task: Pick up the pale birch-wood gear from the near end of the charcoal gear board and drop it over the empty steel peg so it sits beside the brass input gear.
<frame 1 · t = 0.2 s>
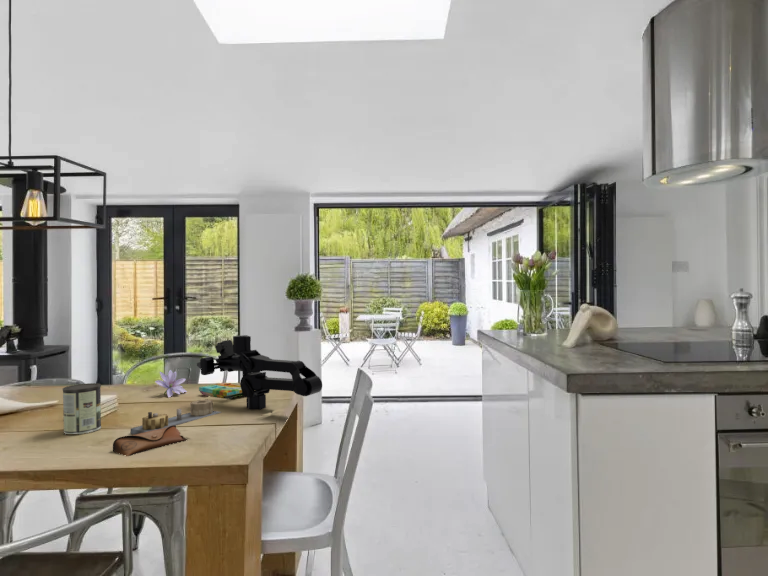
hand: (207, 362, 180), 17 cm above the table, tool horizontal, fingers open, 9 cm apart
coffee can: (82, 431, 148), on the table
water lily: (172, 395, 199), on the table
sunglasses case: (152, 447, 132), on the table
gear: (201, 413, 161), point 1 cm above the table, touching gear board
puzzle game: (224, 397, 196), on the table
gear board: (179, 424, 153), on the table
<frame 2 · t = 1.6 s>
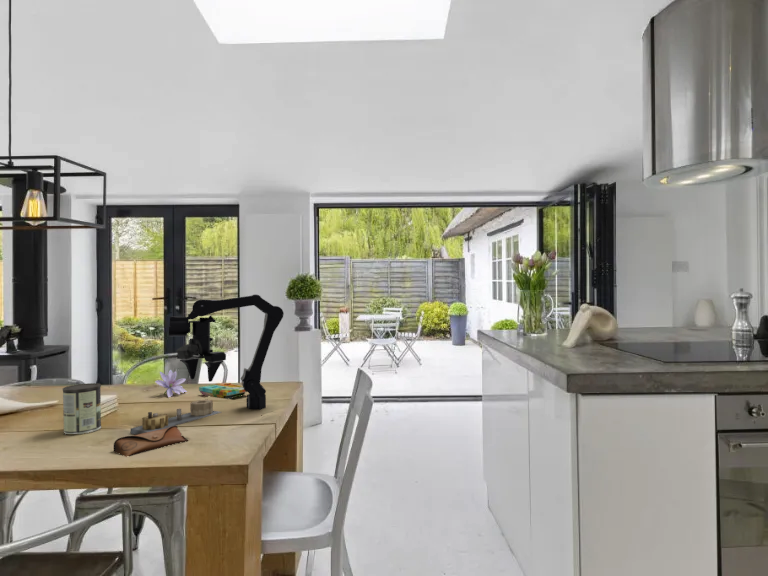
hand: (201, 380, 161), 13 cm above the table, tool pointing down, fingers open, 9 cm apart
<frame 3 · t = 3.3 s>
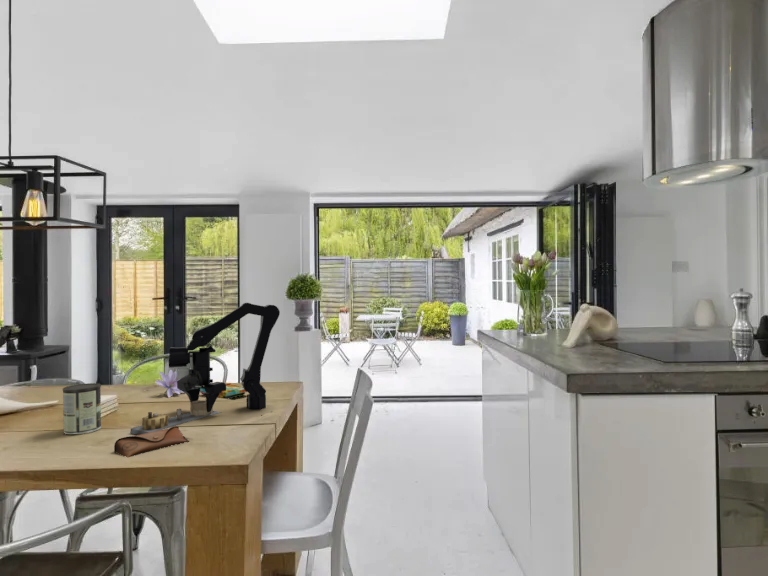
hand: (201, 410, 161), 3 cm above the table, tool pointing down, fingers closed on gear, 7 cm apart
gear: (201, 413, 161), point 2 cm above the table, touching gear board, gripper
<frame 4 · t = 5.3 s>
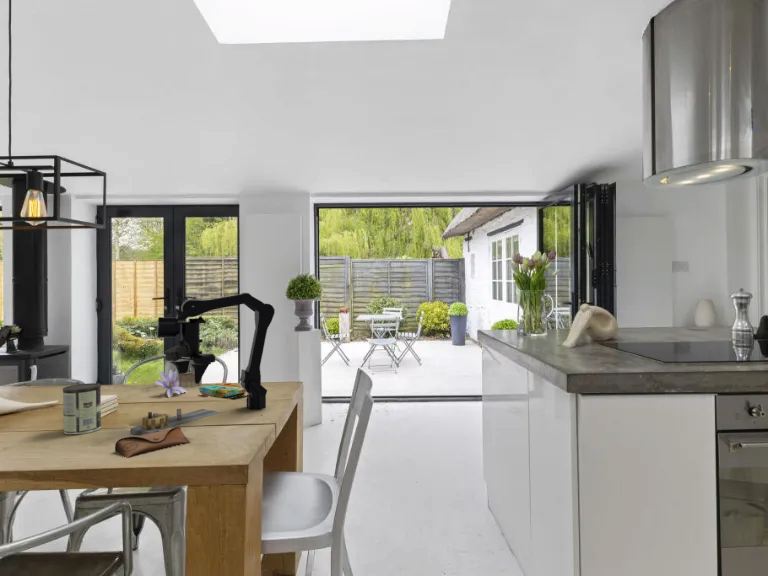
hand: (190, 382, 158), 13 cm above the table, tool pointing down, fingers closed on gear, 7 cm apart
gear: (190, 385, 158), point 12 cm above the table, touching gripper
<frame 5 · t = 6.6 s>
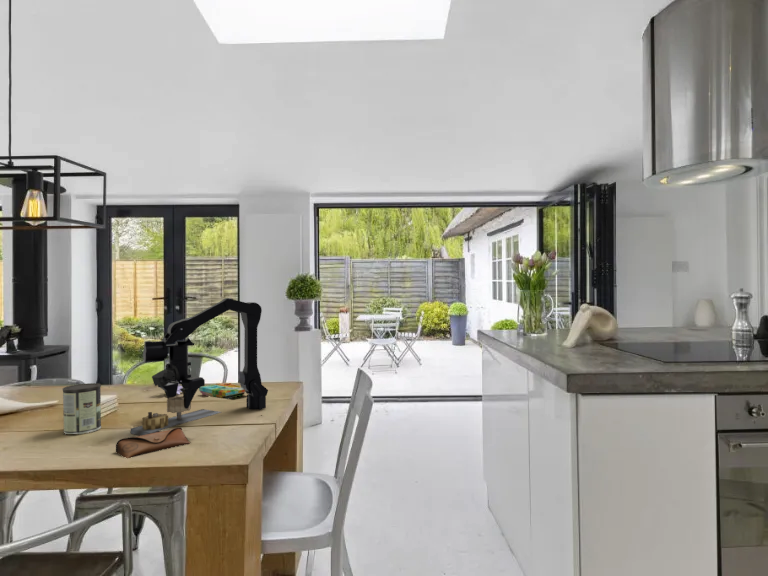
hand: (179, 407, 153), 6 cm above the table, tool pointing down, fingers closed on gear, 7 cm apart
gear: (179, 410, 153), point 5 cm above the table, touching gripper
when the fingers open (4 cm above the table, at t = 7.3 s): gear drops 2 cm, resting on gear board.
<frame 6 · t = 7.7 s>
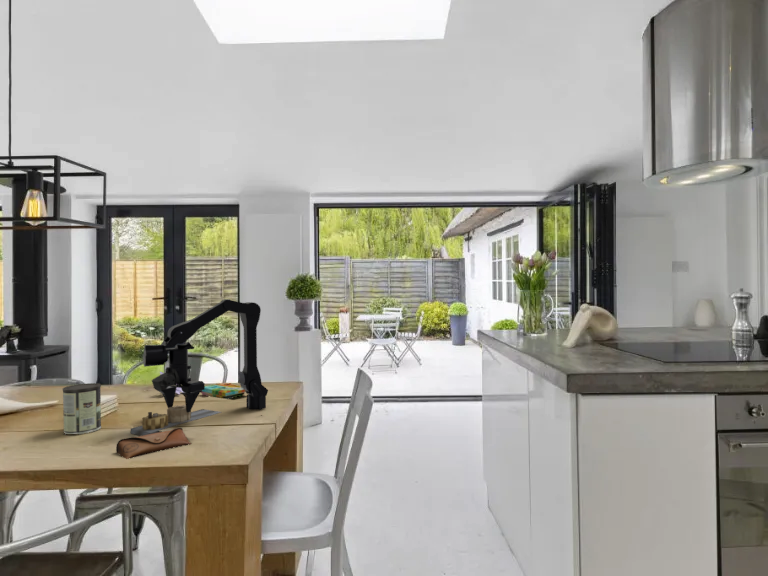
hand: (179, 410, 153), 4 cm above the table, tool pointing down, fingers open, 9 cm apart
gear: (179, 419, 153), point 1 cm above the table, touching gear board
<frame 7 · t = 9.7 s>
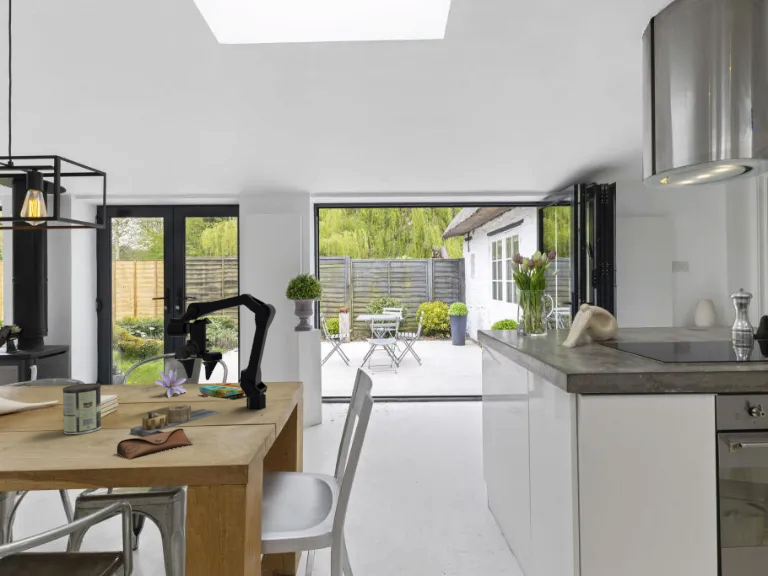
hand: (198, 379, 169), 12 cm above the table, tool pointing down, fingers open, 9 cm apart
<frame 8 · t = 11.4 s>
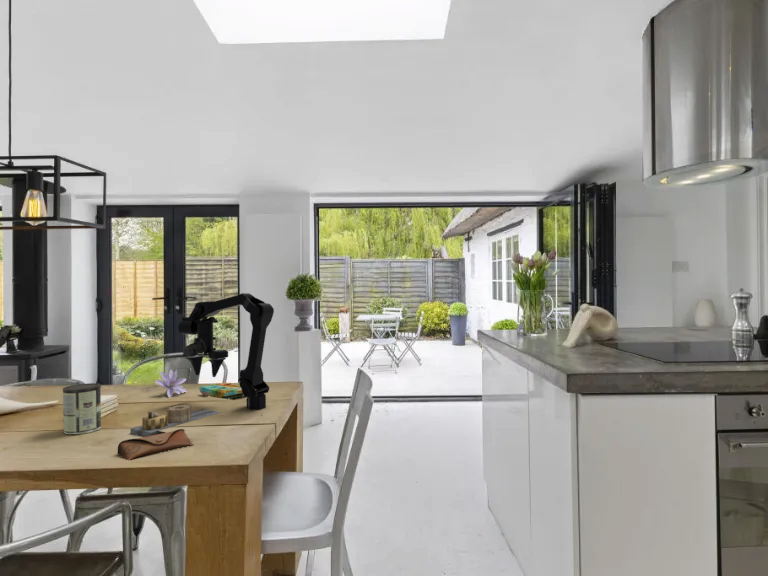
hand: (205, 376, 175), 12 cm above the table, tool pointing down, fingers open, 9 cm apart
at the end: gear 0.1 cm off-centre on the gear board, point 1.5 cm above the gear board's base; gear tilted 0°; the gripper is holding nothing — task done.
